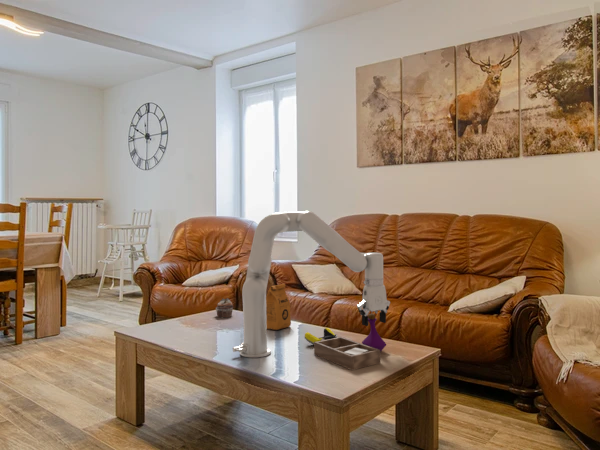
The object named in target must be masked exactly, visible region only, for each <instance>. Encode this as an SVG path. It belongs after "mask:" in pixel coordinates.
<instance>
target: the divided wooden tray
mask: <svg viewBox="0 0 600 450" xmlns="http://www.w3.org/2000/svg"><path fill="white" fill-rule="evenodd" d="M353 348H359V349H364V350H368V352H365V353H361V354H356V355H350V354H347V353H345V351H348V350H350V349H353ZM313 354H314V356H317V357H320V358H322V359H325V360H327V361H329V362H332V363H334V364H337V365H339V366H341V367H342V368H346V369H348V370H351V371H353V370H358V369H362V368H365V367H369V366H370V367H371V366H374V365H378V364H381V352H380V350H379V349H376V348H373V347H370V346H367V345H364V344H362V342H361V343H360V342H357V341H354V340H353V339H352V340H351V339H348V338H346V337H342V336H338V337H337V338H333V339H328V340H323V341H317V342H314V344H313Z"/></svg>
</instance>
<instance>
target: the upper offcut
mask: <svg viewBox="0 0 600 450" xmlns="http://www.w3.org/2000/svg"><path fill="white" fill-rule="evenodd" d="M365 352H368V350H364V349H359V348H353V349H350V350H348V351H345V353H347V354H350V355H356V354H361V353H365Z"/></svg>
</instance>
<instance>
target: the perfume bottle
mask: <svg viewBox="0 0 600 450" xmlns="http://www.w3.org/2000/svg"><path fill="white" fill-rule="evenodd" d="M378 311H379V310H378ZM378 311H370V313H368V315H367V316H368V324H369V325H370V332H369V334H368V335H367V336H366V337H365V338H364V339H363V340H362V342H361V344H364V345H367V346H370V347H373V348H376V349H379V350H380V353H381V352H382V351H383V350H384V348H385V347H386V346H387V343H386V342H385V341H384V340H383V338H382V337H381V336H380V334H379V333H378V331H377V328H376V321H377V320H378V319H377V318H376V315H377V314H378ZM373 312H374V313H373Z"/></svg>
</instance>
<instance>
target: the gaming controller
mask: <svg viewBox="0 0 600 450" xmlns="http://www.w3.org/2000/svg"><path fill="white" fill-rule="evenodd" d="M338 337H339V336H338V334H335V333H334V332H333V331H332V330H331V329H330V328H329V327H325V328H324V329H323V336H322V337H317V336H316V335H313V334H311V333H310V332H305V334H304V339H305V340H306V342H308V344H309V343H310V344H312V345H314V342H317V341H323V340H328V339H333V338H338Z"/></svg>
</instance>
